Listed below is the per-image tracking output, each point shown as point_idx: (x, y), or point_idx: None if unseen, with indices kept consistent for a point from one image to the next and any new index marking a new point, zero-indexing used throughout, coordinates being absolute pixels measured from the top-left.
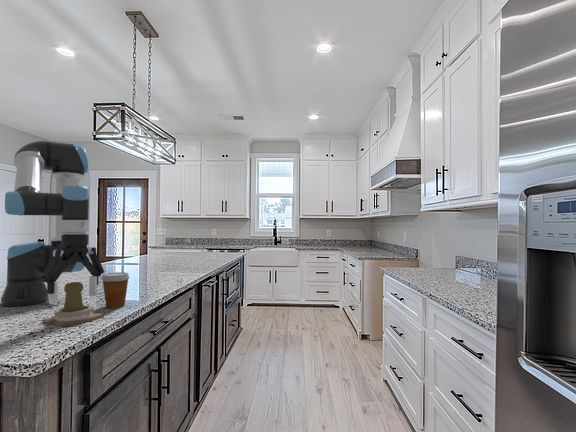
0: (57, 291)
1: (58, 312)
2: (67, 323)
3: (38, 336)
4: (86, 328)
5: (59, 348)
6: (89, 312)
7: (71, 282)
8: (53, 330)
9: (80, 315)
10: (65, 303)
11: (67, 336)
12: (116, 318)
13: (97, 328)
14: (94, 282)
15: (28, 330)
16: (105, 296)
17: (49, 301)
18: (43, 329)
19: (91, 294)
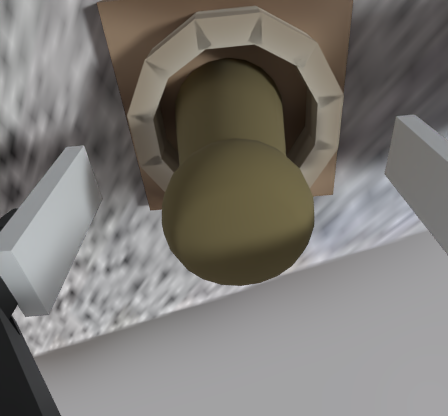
0: (71, 257)
1: (136, 136)
2: (147, 198)
3: None
4: (178, 262)
5: (40, 340)
6: None
7: (226, 234)
8: None
9: None
10: (178, 149)
11: (94, 284)
12: (326, 244)
13: (198, 287)
14: (439, 232)
15: (6, 93)
16: None
17: (60, 157)
18: (64, 140)
19: (394, 146)
